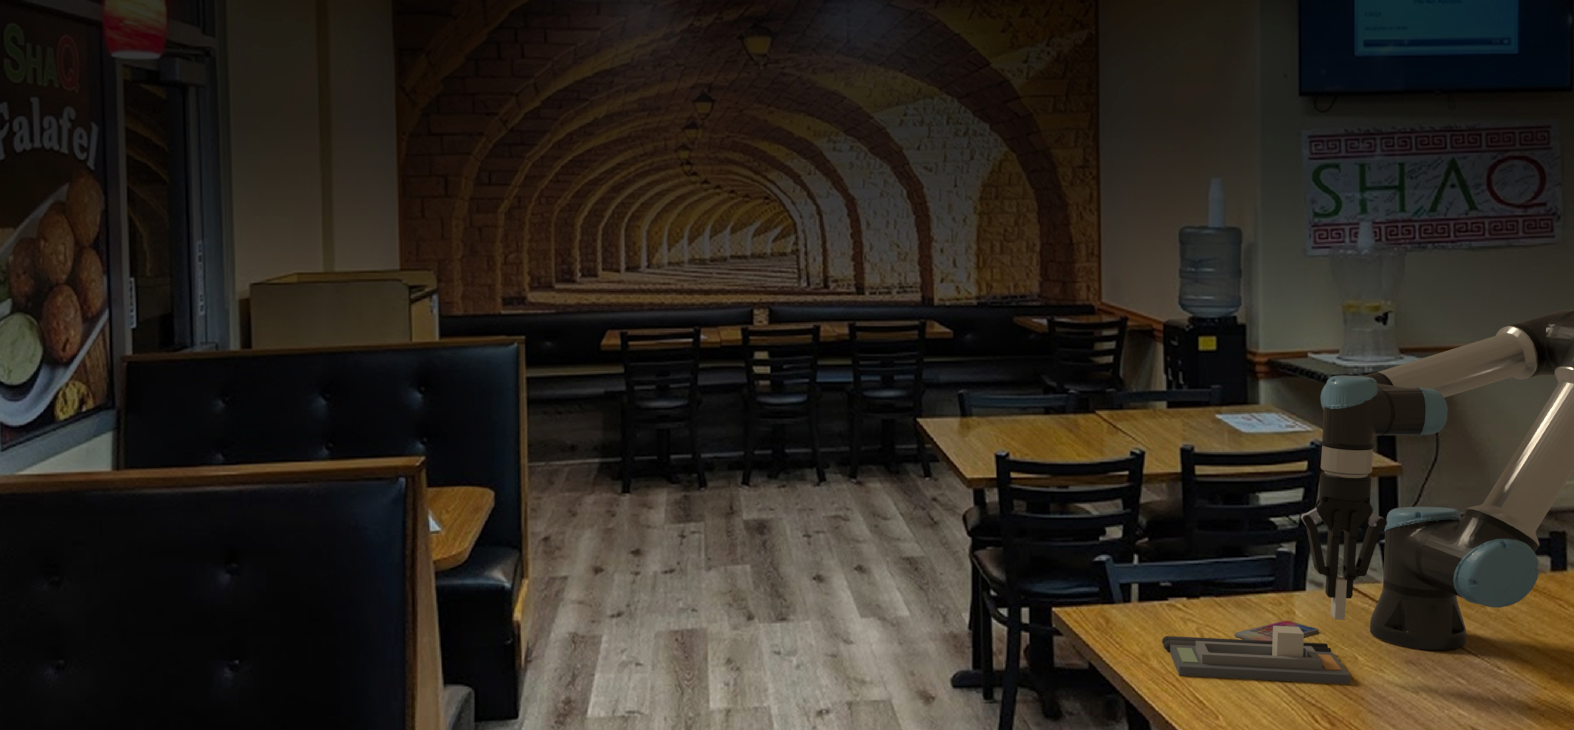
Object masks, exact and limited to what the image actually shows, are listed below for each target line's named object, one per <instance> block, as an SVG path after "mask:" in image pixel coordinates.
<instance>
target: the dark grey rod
mask: <svg viewBox="0 0 1574 730" xmlns="http://www.w3.org/2000/svg"><path fill="white" fill-rule="evenodd" d="M1167 640H1176V641H1210V642H1231V643H1253V644H1272V641H1262V640H1243V639H1240V638H1236V639H1235V638H1233V639H1232V638H1217V637H1216V638H1215V637H1198V636H1197V637H1194V636H1193V637H1192V636H1173V635H1172V636H1171V635H1166V636H1163V637H1162V639H1161V643H1162V645H1163V646H1164V642H1165V641H1167ZM1303 646H1312V647H1325V648H1329V645H1328V643H1325V642H1324V643H1321V642H1304V644H1303Z"/></svg>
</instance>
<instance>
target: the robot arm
mask: <svg viewBox="0 0 1574 730" xmlns="http://www.w3.org/2000/svg"><path fill="white" fill-rule="evenodd" d="M1540 376H1555V378H1556V380H1557V385H1556V387H1555V389H1554V390H1553V392H1552V394H1551V395H1550V397H1549V398H1548V399H1547V401H1546V402H1545V404H1544V406H1543V408H1542V410H1541V411H1540V412H1539V414H1538V416H1537V418H1535V421H1534V422H1533V424H1532V425H1531V427H1530V428H1529V429H1528V431H1527V433H1526V434H1525V437H1524V438H1523V439H1522V440H1521V442H1520V444H1519V446H1517V449H1516V451H1515V452H1514V453H1513V455H1512V457H1511V458H1510V460H1509V462H1508V463H1507V465H1506V467H1505V468H1504V470H1503V471H1502V473H1501V474H1500V476H1499V478H1498V479H1497V480H1496V483H1495V484H1494V486H1493V487H1492V489H1491V490H1490V492H1489V493H1488V495H1487V496H1486V498H1485V500H1484V501H1483V503H1481V504H1478V505H1474V506H1470V507H1468V508H1467V509H1466V510H1465V512H1464V514H1463V515H1462V514H1461V511H1460V510H1458V509H1456V508H1451V507H1440V506H1438V507H1437V506H1435V507H1434V506H1404V507H1396V508H1393V509H1391V510H1389V512H1387V516H1386V519H1385V518H1384V517H1383V516H1381V515H1378V514H1376V513H1375V512H1374V509H1373V506H1372V504H1371V494H1372V493H1371V492H1372V478H1371V476H1370V475H1369V474H1371V473H1372V472H1373V461H1374V460H1373V459H1374V458H1373V457H1374V456H1373V455H1374V442H1375V437H1379V436H1381V437H1382V436H1417V437H1421V436H1425V435H1434V434H1437V433H1439V432H1440V431H1441V430H1442V429H1443V428H1444V427H1445V425H1446V423H1447V420H1448V411H1449V410H1448V404H1447V402H1446V399H1445V398H1448V397H1451V396H1454V395H1458V394H1460V393H1463V392H1467V391H1470V390H1474V389H1477V388H1480V387H1483V386H1487V385H1489V384H1493V383H1497V382H1500V381H1503V380H1507V379H1510V378H1513V379H1515V380H1527V379H1530V378H1532V377H1533V378H1534V377H1540ZM1320 405H1321V407H1322V410H1323V411H1322V412H1323V414H1322V415H1323V418H1322V437H1321V440H1322V441H1321V442H1322V443H1321V446H1322V447H1321V458H1320V469H1321V470H1323V471H1321V473H1320V474H1319V491H1318V500H1317V501H1316V503H1315V504H1314V505H1315V506H1314V508H1312V509H1311V510H1309V511H1308V512H1302V513H1300V515H1299V518H1300V520H1301V521H1302V522H1303V525H1304V526H1305V528H1306V533H1307V537H1308V543H1309V548H1310V553H1311V558H1312V563H1313V568H1314V570H1315V571H1316V572H1317V573H1318V574H1319V575H1323V576H1324V577H1325V578H1326V579H1325V590H1324V591H1325V594H1326V596H1327V597H1328V598H1331V599H1330V600H1331V602H1330V616H1331V617H1332V618H1333V619H1334V620H1337V621H1339V620H1340V621H1345V618H1346V607H1347V606H1346V605H1347V604H1346V603H1347V602H1346V600H1347V599H1352V598H1353V593H1354V592H1353V591H1354V581H1355V580H1356V579H1357V578H1359V577H1365V576H1367V573H1368V571H1369V568H1370V565H1371V562H1372V558H1373V556H1374V552H1375V550H1376V546H1377V543H1378V540H1379V537H1380V534H1381V533H1382V531H1383V530H1384V552H1383V554H1384V555H1383V556H1384V559H1383V577H1382V578H1383V582H1382V591H1381V594H1380V595H1379V598H1378V601H1377V602H1376V605H1375V607H1374V609H1373V612H1372V614H1371V617H1370V621H1369V622H1370V623H1369V625H1370V626H1369V627H1370V628H1369V632H1370V633H1371V635H1372V636H1373V637H1375V638H1376V639H1379V640H1381V641H1384V642H1387V643H1389V644H1391V645H1392V644H1393V645H1397V646H1401V647H1406V648H1411V649H1416V650H1417V649H1418V650H1428V651H1429V650H1431V651H1445V650H1454V649H1459V648H1462V647H1464V646H1465V645H1466V643H1467V628H1466V625H1465V622H1464V619H1463V615H1462V611H1461V608H1460V605H1459V601H1458V597H1460V598H1462V599H1463V600H1465V601H1467V602H1469V603H1471V604H1475V605H1480V606H1484V607H1488V608H1496V609H1497V608H1504V607H1510V606H1512V605H1515V604H1516V603H1519V602H1521V601H1522V600H1523V599H1525V597H1527V595H1529V594H1530V593H1531V591H1532V590H1533V589H1534V587H1535V585H1536V584H1537V581H1538V578H1539V573H1540V571H1539V570H1538V568H1537V567H1539V566H1540V565H1539V558H1538V556H1537V554H1536V552H1537V550H1538V548H1539V546H1540V542H1539V539H1538V537H1537V530H1538V528H1539V527H1540V525H1541V523H1543V520H1544V519H1545V517H1546V515H1547V514H1548V513H1549V511H1550V509H1551V508H1552V506H1553V504H1554V503H1555V501H1556V500H1557V498H1558V496H1559V495H1560V493H1561V491H1563V489H1564V487H1565V485H1566V484H1567V482H1568V481H1569V479H1570V477H1571V476H1572V474H1573V473H1574V308H1573V309H1565V310H1560V311H1554V312H1551V313H1547V314H1544V315H1539V316H1537V317H1533V318H1530V319H1526V320H1523V321H1520V322H1516V323H1513V324H1509V325H1507V326H1504V327H1501V328H1499V330H1498V331H1497V332H1496V335H1495V336H1491V337H1488V338H1487V337H1486V338H1484V339H1482V340H1477V341H1474V342H1472V343H1467V344H1464V345H1461V346H1459V347H1455V348H1452V349H1449V350H1446V351H1442V352H1439V353H1435V354H1433V355H1429V356H1425V357H1422V358H1418V359H1417V360H1413V361H1409V362H1406V363H1402V364H1400V365H1396V366H1392V367H1390V368H1386V369H1384V370H1380V371H1377V372H1373V373H1372V372H1371V373H1369V374H1365V375H1334V376H1331V377H1329V378H1328V379H1327V381H1326V383H1325V384H1324V386H1323V387H1322V390H1321V393H1320ZM1319 517H1320V518H1321V521H1323V523H1324V524H1325V527H1327V528H1326V529H1327V542H1326V543H1327V544H1326V545H1327V546H1326V547H1327V548H1326V559H1325V560H1324V555H1323V549H1322V545H1321V539H1320V536H1319V534H1320V533H1319V530H1318V527H1317V524H1318V523H1319V519H1318V518H1319ZM1366 521H1367V524H1368V527H1367V529H1366V532H1365V535H1364V538H1363V542H1362V544H1361V547H1360V550H1359V553H1358V557H1357V539H1358V537H1359V529H1361V527H1363V525H1364V524H1365V523H1366ZM1342 531H1343V534H1344V541H1343V558H1342V559H1343V561H1342V574H1343V575H1338V571H1339V555H1340V541H1341V540H1340V539H1341V536H1342V535H1341V534H1342ZM1356 557H1357V558H1356ZM1356 559H1357V560H1356ZM1325 561H1326V563H1325Z"/></svg>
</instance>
